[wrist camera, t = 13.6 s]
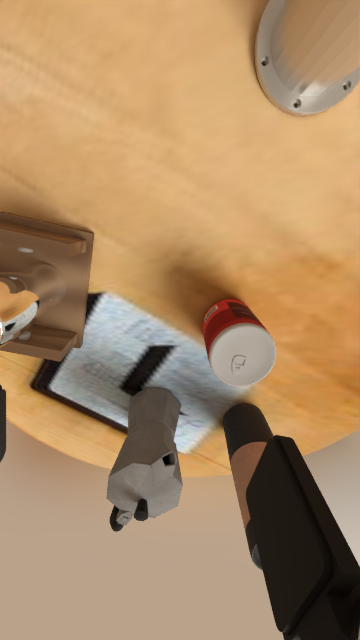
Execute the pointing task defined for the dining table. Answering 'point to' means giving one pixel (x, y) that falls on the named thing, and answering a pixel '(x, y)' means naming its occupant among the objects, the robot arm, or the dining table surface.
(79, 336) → the holder
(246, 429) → the travel mug
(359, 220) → the dining table surface
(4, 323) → the beer glass
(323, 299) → the dining table surface
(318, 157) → the dining table surface
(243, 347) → the canned food
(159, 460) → the coffeepot
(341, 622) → the robot arm
